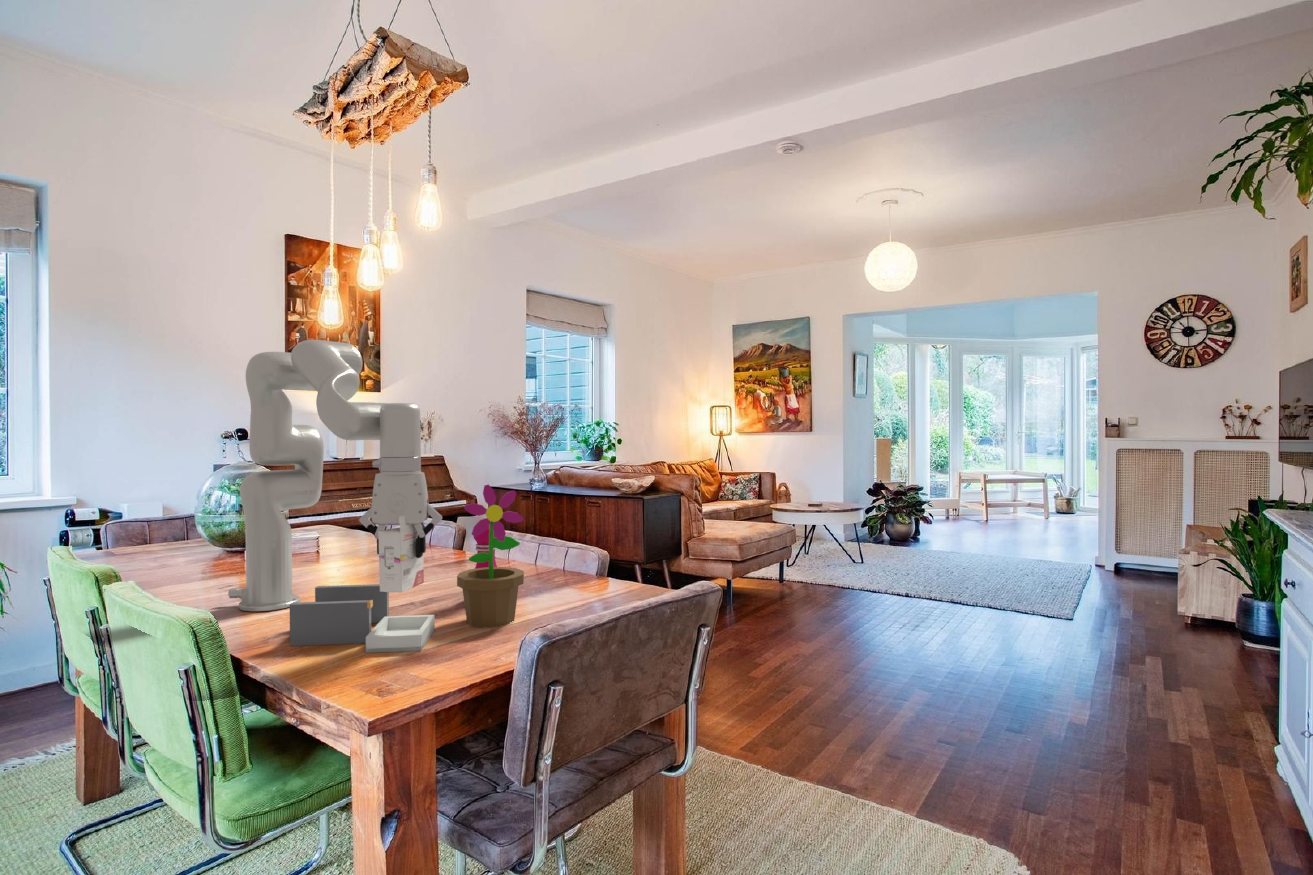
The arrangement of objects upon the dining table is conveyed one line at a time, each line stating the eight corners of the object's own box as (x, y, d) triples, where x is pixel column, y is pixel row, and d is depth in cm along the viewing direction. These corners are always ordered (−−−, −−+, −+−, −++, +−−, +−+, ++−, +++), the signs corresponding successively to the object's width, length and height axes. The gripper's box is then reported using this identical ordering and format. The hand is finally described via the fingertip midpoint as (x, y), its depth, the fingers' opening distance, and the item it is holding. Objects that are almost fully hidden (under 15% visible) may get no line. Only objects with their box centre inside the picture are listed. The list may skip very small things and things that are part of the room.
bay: (290, 646, 135) (289, 604, 135) (318, 623, 151) (317, 585, 150) (370, 642, 137) (370, 602, 137) (390, 620, 153) (390, 583, 152)
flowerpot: (462, 633, 143) (461, 486, 143) (452, 615, 156) (452, 481, 156) (531, 625, 149) (531, 484, 148) (516, 608, 162) (516, 479, 161)
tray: (365, 652, 131) (365, 637, 131) (384, 630, 145) (384, 616, 145) (421, 650, 132) (421, 634, 132) (434, 629, 146) (434, 614, 146)
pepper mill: (507, 597, 172) (507, 516, 172) (486, 604, 166) (485, 520, 166) (486, 594, 176) (486, 514, 176) (464, 600, 170) (464, 517, 170)
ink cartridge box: (402, 582, 143) (401, 510, 143) (424, 583, 142) (423, 510, 142) (377, 592, 135) (377, 515, 134) (401, 593, 134) (400, 516, 133)
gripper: (348, 467, 133) (349, 562, 133) (442, 466, 135) (443, 559, 136) (360, 465, 140) (361, 555, 141) (449, 464, 143) (449, 552, 143)
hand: (401, 556), depth 138 cm, fingers closed on ink cartridge box, 6 cm apart
